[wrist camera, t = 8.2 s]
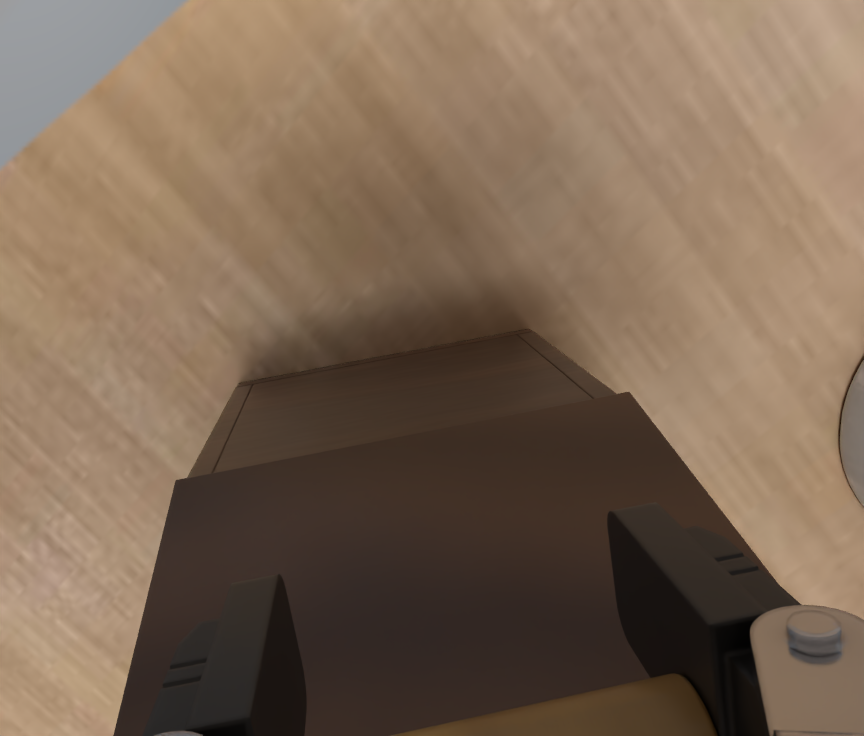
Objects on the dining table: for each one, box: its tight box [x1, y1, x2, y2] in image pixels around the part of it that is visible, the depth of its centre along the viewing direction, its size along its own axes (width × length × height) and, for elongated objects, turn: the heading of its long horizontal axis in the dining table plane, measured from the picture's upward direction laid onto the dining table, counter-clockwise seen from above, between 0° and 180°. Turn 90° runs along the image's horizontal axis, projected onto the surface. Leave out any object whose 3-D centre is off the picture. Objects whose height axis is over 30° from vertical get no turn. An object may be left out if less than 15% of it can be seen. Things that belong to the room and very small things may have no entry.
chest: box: [187, 329, 616, 478], centre depth 32 cm, size 16×14×13 cm
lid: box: [114, 392, 778, 736], centre depth 15 cm, size 16×14×5 cm
